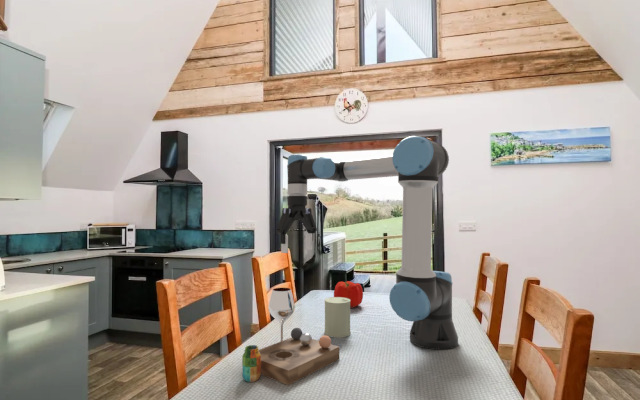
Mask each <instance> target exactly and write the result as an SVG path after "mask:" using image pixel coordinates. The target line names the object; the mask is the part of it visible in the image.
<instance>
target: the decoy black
mask: <svg viewBox="0 0 640 400" xmlns="http://www.w3.org/2000/svg"><path fill="white" fill-rule="evenodd" d="M302 334H303V331H302V329H301V328H300V327H295V328H293V329H292V330H291V332H290V336H291V337H290V338H293V339H294V340H299V339H300V337H301V335H302Z"/></svg>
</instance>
